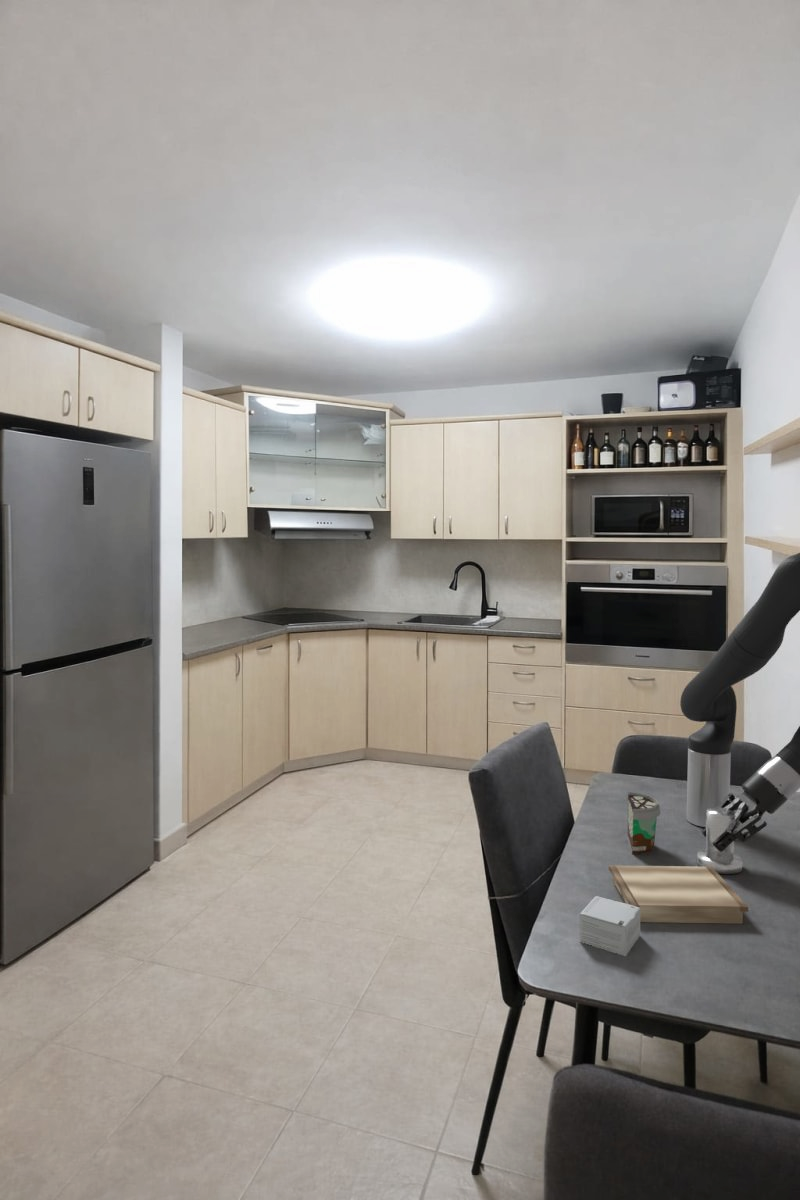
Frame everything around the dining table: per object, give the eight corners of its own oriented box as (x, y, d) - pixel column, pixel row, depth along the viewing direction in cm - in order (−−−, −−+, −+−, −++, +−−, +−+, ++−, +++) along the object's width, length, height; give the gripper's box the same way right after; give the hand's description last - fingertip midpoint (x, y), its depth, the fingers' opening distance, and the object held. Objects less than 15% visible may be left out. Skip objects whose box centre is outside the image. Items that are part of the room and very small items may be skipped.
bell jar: (690, 856, 154) (692, 804, 153) (731, 856, 153) (733, 804, 153) (706, 873, 145) (707, 819, 145) (749, 874, 145) (751, 819, 144)
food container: (663, 859, 153) (664, 811, 152) (632, 856, 154) (633, 809, 154) (655, 836, 165) (656, 792, 164) (626, 834, 166) (627, 791, 166)
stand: (608, 880, 143) (608, 864, 143) (710, 881, 143) (711, 866, 142) (631, 922, 127) (632, 905, 127) (747, 924, 126) (748, 907, 126)
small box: (595, 923, 127) (595, 894, 127) (641, 936, 123) (641, 906, 122) (578, 943, 121) (578, 912, 120) (625, 958, 116) (626, 926, 116)
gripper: (744, 760, 155) (685, 816, 156) (776, 782, 141) (711, 843, 142) (769, 785, 155) (709, 841, 156) (804, 810, 141) (738, 870, 142)
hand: (710, 842), depth 149 cm, fingers closed on bell jar, 5 cm apart
